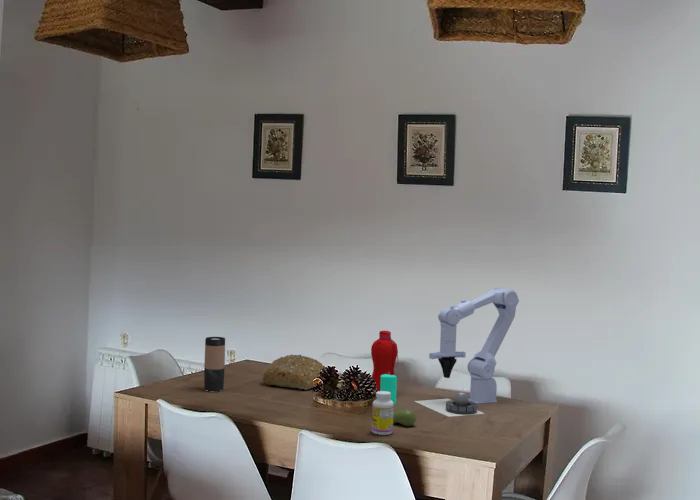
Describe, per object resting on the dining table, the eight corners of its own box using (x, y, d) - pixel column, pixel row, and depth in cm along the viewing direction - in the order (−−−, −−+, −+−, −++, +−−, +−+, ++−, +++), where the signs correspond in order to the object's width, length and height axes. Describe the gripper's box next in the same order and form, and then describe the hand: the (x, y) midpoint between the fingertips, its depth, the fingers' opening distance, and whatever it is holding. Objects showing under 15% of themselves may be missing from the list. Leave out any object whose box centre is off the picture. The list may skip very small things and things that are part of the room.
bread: (256, 386, 314) (257, 356, 313) (283, 377, 333) (284, 348, 333) (311, 393, 304) (312, 362, 303) (335, 384, 323) (336, 354, 323)
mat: (448, 399, 301) (448, 398, 301) (485, 414, 279) (485, 413, 279) (414, 402, 294) (414, 401, 294) (448, 417, 273) (448, 416, 273)
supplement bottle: (370, 429, 253) (371, 390, 253) (391, 430, 254) (392, 390, 254) (372, 435, 247) (374, 394, 246) (393, 435, 247) (395, 395, 247)
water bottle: (389, 400, 296) (392, 333, 295) (365, 395, 302) (368, 330, 301) (403, 396, 303) (405, 331, 302) (379, 392, 310) (382, 328, 309)
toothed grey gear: (465, 406, 289) (465, 399, 289) (483, 413, 279) (483, 405, 279) (439, 408, 285) (440, 401, 284) (456, 415, 275) (456, 408, 274)
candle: (394, 406, 286) (396, 373, 286) (378, 405, 287) (379, 372, 287) (397, 403, 292) (398, 370, 292) (380, 401, 293) (382, 369, 293)
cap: (461, 405, 286) (461, 391, 285) (471, 408, 282) (471, 393, 281) (450, 407, 283) (451, 392, 282) (460, 410, 279) (461, 395, 278)
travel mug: (228, 390, 304) (229, 338, 303) (214, 393, 298) (216, 340, 297) (213, 387, 308) (214, 336, 307) (199, 390, 302) (200, 338, 301)
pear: (410, 411, 257) (383, 412, 262) (412, 427, 257) (385, 428, 261) (417, 408, 262) (390, 408, 266) (419, 424, 261) (392, 424, 266)
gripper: (458, 338, 299) (457, 374, 300) (425, 339, 293) (424, 376, 293) (469, 341, 293) (467, 378, 293) (435, 342, 286) (434, 380, 287)
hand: (446, 377), depth 293 cm, fingers closed
